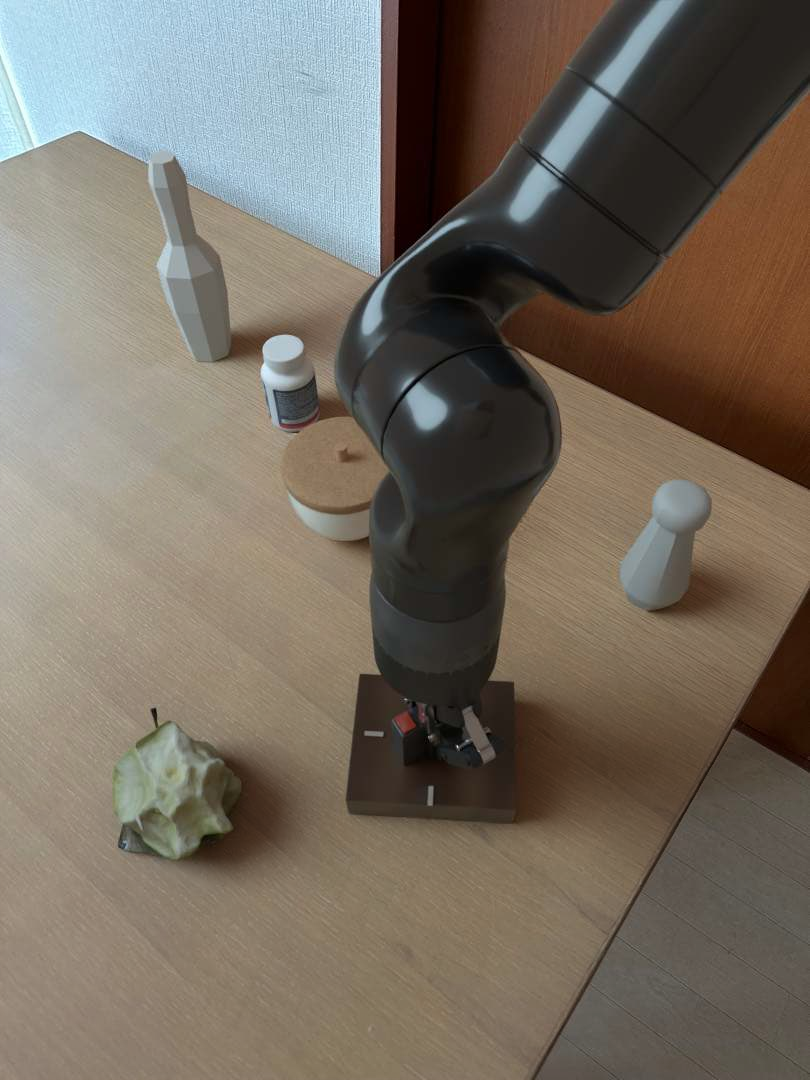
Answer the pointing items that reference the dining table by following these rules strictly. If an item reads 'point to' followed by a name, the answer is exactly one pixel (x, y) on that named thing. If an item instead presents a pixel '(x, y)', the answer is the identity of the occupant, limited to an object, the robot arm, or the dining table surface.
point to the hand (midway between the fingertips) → (432, 736)
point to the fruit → (172, 794)
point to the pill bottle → (289, 384)
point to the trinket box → (332, 478)
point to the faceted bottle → (189, 266)
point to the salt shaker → (665, 546)
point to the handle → (408, 736)
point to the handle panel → (428, 763)
